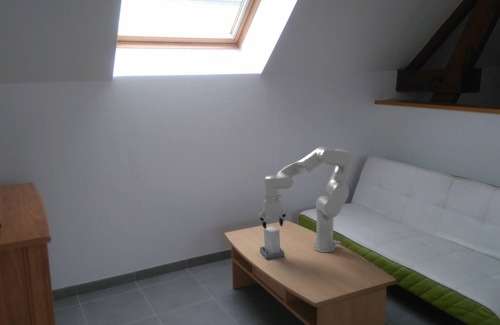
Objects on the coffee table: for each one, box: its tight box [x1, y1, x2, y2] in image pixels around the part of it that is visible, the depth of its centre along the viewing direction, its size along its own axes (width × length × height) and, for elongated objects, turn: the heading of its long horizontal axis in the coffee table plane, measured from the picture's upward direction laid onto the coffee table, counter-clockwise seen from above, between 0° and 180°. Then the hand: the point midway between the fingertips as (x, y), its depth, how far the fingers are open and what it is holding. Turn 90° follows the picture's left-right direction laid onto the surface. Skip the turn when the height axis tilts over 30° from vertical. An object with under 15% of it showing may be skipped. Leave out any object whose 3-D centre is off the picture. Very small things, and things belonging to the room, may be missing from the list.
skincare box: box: [263, 226, 281, 254], centre depth 239 cm, size 8×6×15 cm
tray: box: [259, 246, 285, 260], centre depth 241 cm, size 11×11×3 cm
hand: (273, 226), depth 238 cm, fingers open, 9 cm apart
